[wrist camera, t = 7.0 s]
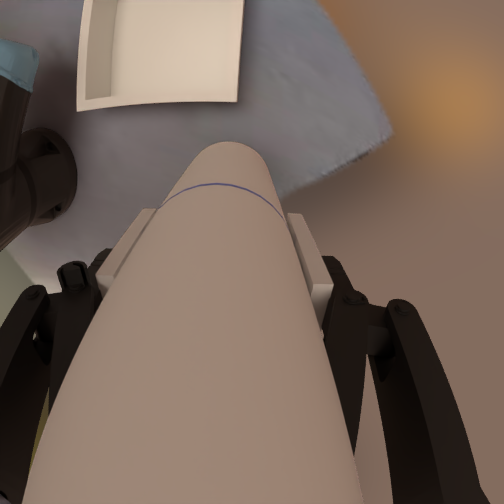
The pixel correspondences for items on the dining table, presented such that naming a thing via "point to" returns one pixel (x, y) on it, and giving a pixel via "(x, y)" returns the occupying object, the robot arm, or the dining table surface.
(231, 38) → the beige bin
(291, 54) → the dining table surface
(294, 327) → the cylindrical container
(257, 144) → the dining table surface
